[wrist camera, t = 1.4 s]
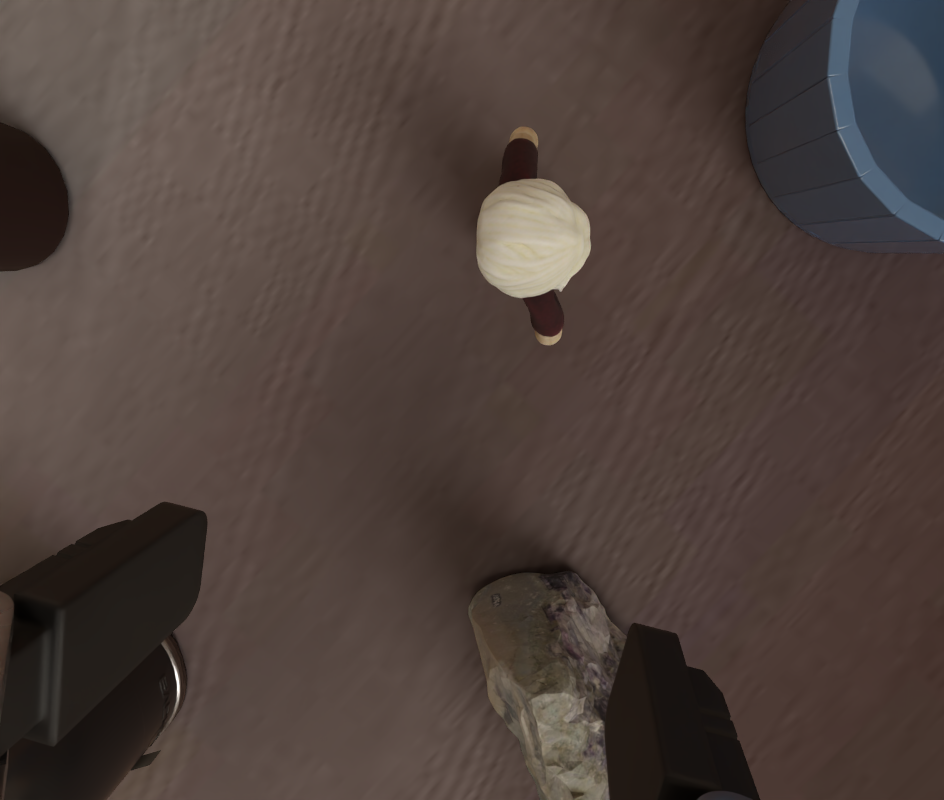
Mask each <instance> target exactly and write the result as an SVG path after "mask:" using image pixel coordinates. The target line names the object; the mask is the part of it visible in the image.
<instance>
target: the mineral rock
mask: <svg viewBox="0 0 944 800" xmlns="http://www.w3.org/2000/svg"><path fill="white" fill-rule="evenodd" d="M468 615H469V618H470V621H471V623H472V626H473V629H474V633H475V638H476V642H477V645H478V649H479V653H480V657H481V661H482V665H483V668H484V672H485V676H486V680H487V690H488V698H489V700H490V702H491V703H492V705H493V707H494V709H495V711H496V712H497V713H498V714H499V715H500V716H501V717H502V718H503V719H504V721H505V724H506V726H507V727H508V728H509V729H510V730H511V732H512V733H513V734H514V735H515V736H516V737H517V738H518V739H519V742H520V747H521V751H522V753H523V756H524V760H525V763H526V766H527V768H528V770H529V772H530V774H531V776H532V777H533V779H534V781H535V783H536V788H537V792H538V795H539V798H540V800H609V787H608V774H607V762H606V749H605V735H604V731H605V717H606V710H607V705H608V700H609V697H610V693H611V690H612V686H613V683H614V679H615V676H616V673H617V669H618V666H619V662H620V659H621V656H622V652H623V649H624V645H625V642H626V639H627V636H626V635H625V634H623V633H622V632H621V631H620V630H619V629H618V628H617V627H616V626H615V625H614V624H613V623H612V622H611V621H610V619H609V618H608V616H607V615H606V612H605V608H604V607H603V606H602V605H601V604H600V602H599V600H598V598H597V596H596V594H595V593H594V592H593V590H592V589H591V588H590V587H589V586H587V585H586V584H585V583H584V582H583V581H582V580H581V579H580V578H579V576H578V575H577V574H576V573H574V572H572V571H564V572H559V573H554V574H540V573H529V572H526V573H518V574H513V575H510V576H506V577H504V578H501V579H499V580H496V581H494V582H492V583H490V584H488V585H487V586H485V587H484V588H482V589H481V590H479V591H478V592H477V593H476V594H475V596H474V597H473V599H472V601H471V603H470V605H469V608H468Z"/></svg>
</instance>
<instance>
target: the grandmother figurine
mask: <svg viewBox="0 0 944 800" xmlns="http://www.w3.org/2000/svg"><path fill="white" fill-rule="evenodd" d="M537 146H538V137H537V135H536V133H535V131H534V130H533V129H531V128H529V127H519V128H517V129H516V130H515V131H514V132H513V133H512V135H511V137H510V142H509V144H508V145H507V147H506V149H505V152H504V156H503V162H502V175H501V177H500V181H499V186H498V187H497V188H496V190H494V191H493V192H492V193H491V194H490V195H488V196H487V197H486V198H485V200H484V202H483V204H482V207H481V210H480V215H479V218H478V221H477V247H476V255H477V260H478V267H479V269H480V271H481V273H482V274H483V276H484V278H485V279H486V280H487V281H488V282H489V283H490V284H492V285H494V286H496V287H497V288H498V289H499V290H501V291H502V292H503V293H505V294H507V295H510V296H512V297H518V298H522V299H523V300H524V302H525V303H526V305H527V307H528V309H529V312H530V316H531V323H532V326H533V328H534V330H535V336H536V338H537V340H538V341H539V342H540V343H542V344H544V345H553V344H555V343H556V342H558V341H559V340H560V338H561V335H562V328H563V324H564V314H563V311H562V308H561V305H560V303H559V301H558V298H557V296H556V294H555V292H554V289H558V290H559V291H562V290H563V288H564V287H565V286H566V284H567V283H568V281H569V280H570V278H571V277H572V276H573V275H574V274H576V273H577V272H578V271H579V270H580V269H581V268H582V266H583V265H584V263H585V260H586V259H587V257H588V256H589V253H590V250H591V243H590V224H589V220H588V217H587V215H586V214H585V212H584V211H583V210H582V209H581V208H580V207H579V206H577V205H576V204H574V203H572V202H570V200H569V198H568V197H567V195H566V194H565V192H564V191H563V190H562V189H561V188H560V187H559V186H558V185H557V184H555V183H554V182H552V181H549V180H545V179H536V178H537V162H538V151H537Z"/></svg>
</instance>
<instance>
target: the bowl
mask: <svg viewBox="0 0 944 800" xmlns="http://www.w3.org/2000/svg"><path fill="white" fill-rule="evenodd" d="M746 135H747V142H748V149H749V152H750V156H751V160H752V163H753V166H754V169H755V171H756V174H757V176H758V178H759V181H760V183H761V184H762V186H763V188H764V189H765V191H766V193H767V194H768V196H769V198H770V199H771V200H772V201H773V203H774V204H775V205H776V206H777V208H778V209H779V210H780V211H781V212H782V213H783V214H784V215H785V216H786V217H787V218H788V219H789V220H790V221H792V222H793V223H794V224H795V225H796V226H798V227H799V228H801V229H802V230H804V231H805V232H807V233H808V234H810V235H812V236H814V237H816V238H818V239H820V240H822V241H824V242H826V243H829V244H832V245H836V246H839V247H842V248H845V249H851V250H857V251H862V252H867V253H944V0H791V1H790V2H789V3H788V4H787V6H786V7H785V9H784V10H783V11H782V13H781V14H780V16H779V17H778V19H777V20H776V22H775V23H774V24H773V26H772V27H771V29H770V31H769V33H768V35H767V37H766V39H765V41H764V43H763V44H762V46H761V49H760V51H759V54H758V57H757V59H756V62H755V64H754V67H753V71H752V75H751V79H750V82H749V86H748V93H747V101H746Z"/></svg>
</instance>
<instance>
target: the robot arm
mask: <svg viewBox="0 0 944 800" xmlns="http://www.w3.org/2000/svg"><path fill="white" fill-rule="evenodd" d="M206 533H207V516H206V514H205V513H204V512H203V511H200V510H196V509H192V508H189V507H185V506H181V505H177V504H173V503H169V502H162V503H160V504H158V505H156V506H155V507H153V508H152V509H150V510H148V511H147V512H145V513H143V514H142V515H140V516H139V517H137V518H135V519H134V520H132V521H131V520H125V521H121V522H118V523H115V524H111V525H108V526H104V527H101V528H98V529H96V530H95V531H93V532H91V533H89V534H88V535H86V536H84V537H83V538H81V539H79V540H78V541H76V543H75V545H74V544H71V545H69V546H67V547H66V548H64V549H62V550H61V551H59V552H58V553H57V555H56V556H54V555H52V556H50V557H49V558H47V559H45V560H44V561H42V562H40V563H38V564H37V565H35V566H33V567H32V568H30V569H28V570H27V571H25V572H23V573H22V574H20V575H18V576H16V577H15V578H13V579H11V580H10V581H8V582H6V583H5V584H3V585H1V586H0V800H107V799H108V797H109V796H110V795H111V794H112V792H113V791H114V790H115V789H116V787H117V786H118V785H119V784H120V782H121V781H122V780H123V779H124V777H125V776H126V775H127V774H128V772H129V771H130V770H134V769H137V768H141V767H144V766H148V765H150V764H151V763H152V761H153V760H154V759H155V757H156V756H157V755H158V753H159V752H160V751H161V750H160V751H157V752H153V753H150V754H147V755H143V754H144V753H145V751H146V750H147V749H148V748H149V747H150V746H151V745H152V744H153V743H154V741H155V740H156V739H157V738H158V736H159V735H160V734H161V733H162V732H163V731H164V730H165V729H166V728H167V727H168V725H169V724H170V723H171V722H172V720H173V719H174V718H175V717H176V715H177V714H178V712H179V710H180V708H181V706H182V704H183V701H184V698H185V693H186V686H187V677H186V669H185V664H184V660H183V657H182V654H181V652H180V650H179V647H178V645H177V644H176V642H175V640H174V638H173V637H172V635H171V633H172V632H173V631H174V630H175V629H176V628H177V627H178V626H179V625H180V624H181V623H182V622H184V620H185V619H186V618H187V617H188V616H189V614H190V612H191V611H192V609H193V607H194V605H195V603H196V600H197V598H198V594H199V591H200V585H201V577H202V568H203V559H204V550H205V541H206ZM730 717H731V716H730V713H729V710H728V707H727V705H726V702H725V699H724V696H723V693H722V692H721V691H720V690H719V689H718V687H717V686H716V685H715V684H714V683H713V681H712V680H711V679H710V678H709V677H708V675H707V674H706V673H705V672H704V671H703V670H700V669H696V668H692V667H688V666H686V662H685V659H684V655H683V652H682V649H681V645H680V642H679V638H678V636H677V634H676V633H672V632H668V631H665V630H661V629H657V628H653V627H649V626H645V625H641V624H637V623H633V624H632V626H631V628H630V630H629V632H628V635H627V639H626V642H625V645H624V649H623V652H622V656H621V659H620V662H619V666H618V669H617V673H616V676H615V679H614V683H613V686H612V690H611V693H610V697H609V700H608V705H607V710H606V717H605V731H604V735H605V749H606V762H607V774H608V787H609V800H760V798H759V795H758V792H757V789H756V787H755V784H754V781H753V778H752V775H751V772H750V770H749V767H748V764H747V761H746V758H745V756H744V753H743V750H742V747H741V744H740V741H739V740H737V733H736V730H735V727H734V724H733V722H732V721H730ZM142 755H143V756H142Z"/></svg>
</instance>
